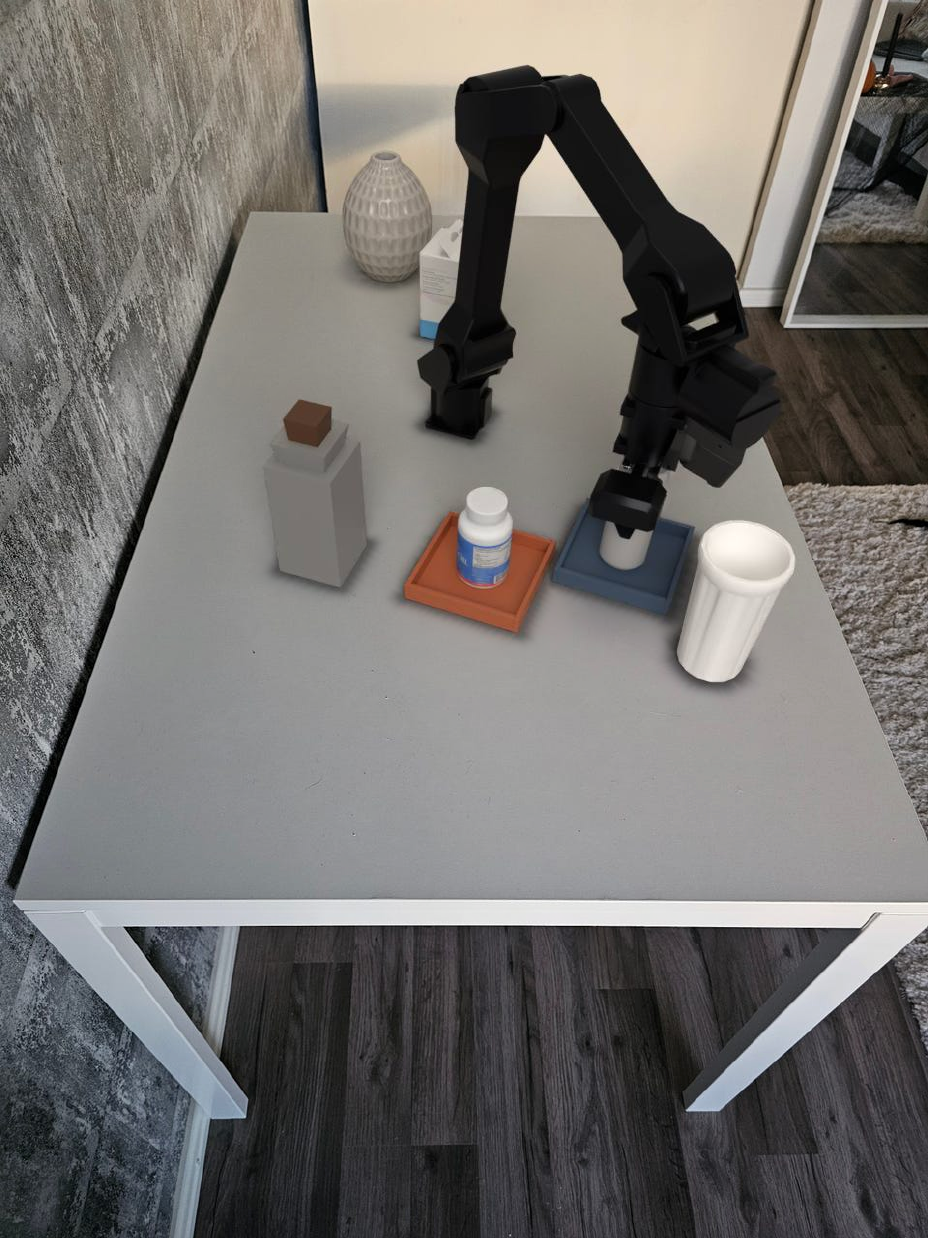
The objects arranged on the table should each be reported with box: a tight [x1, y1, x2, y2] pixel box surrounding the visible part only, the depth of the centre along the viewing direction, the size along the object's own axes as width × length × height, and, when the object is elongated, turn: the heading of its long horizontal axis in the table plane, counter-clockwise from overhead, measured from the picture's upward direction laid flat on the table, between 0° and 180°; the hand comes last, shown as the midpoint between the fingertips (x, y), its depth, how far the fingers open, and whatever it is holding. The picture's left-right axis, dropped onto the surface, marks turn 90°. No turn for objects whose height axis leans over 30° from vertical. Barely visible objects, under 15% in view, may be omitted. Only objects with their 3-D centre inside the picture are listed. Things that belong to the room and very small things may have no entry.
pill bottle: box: [457, 486, 514, 589], centre depth 90 cm, size 6×5×10 cm
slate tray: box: [551, 497, 696, 616], centre depth 95 cm, size 12×12×2 cm
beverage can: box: [599, 455, 671, 570], centre depth 91 cm, size 5×5×12 cm
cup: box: [676, 519, 797, 683], centre depth 82 cm, size 8×8×14 cm
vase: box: [341, 150, 433, 284], centre depth 129 cm, size 13×13×17 cm
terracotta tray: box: [403, 510, 557, 634], centre depth 93 cm, size 12×12×2 cm
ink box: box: [419, 218, 463, 340], centre depth 121 cm, size 9×8×13 cm
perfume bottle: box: [262, 399, 368, 588], centre depth 88 cm, size 7×7×18 cm
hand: (631, 521), depth 92 cm, fingers closed on beverage can, 5 cm apart
